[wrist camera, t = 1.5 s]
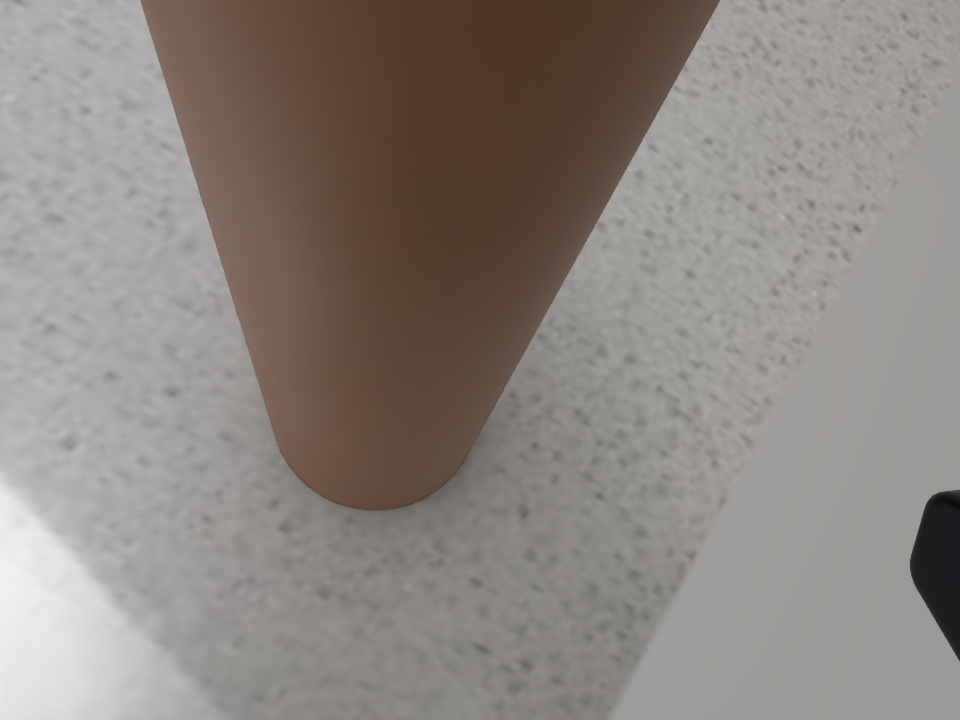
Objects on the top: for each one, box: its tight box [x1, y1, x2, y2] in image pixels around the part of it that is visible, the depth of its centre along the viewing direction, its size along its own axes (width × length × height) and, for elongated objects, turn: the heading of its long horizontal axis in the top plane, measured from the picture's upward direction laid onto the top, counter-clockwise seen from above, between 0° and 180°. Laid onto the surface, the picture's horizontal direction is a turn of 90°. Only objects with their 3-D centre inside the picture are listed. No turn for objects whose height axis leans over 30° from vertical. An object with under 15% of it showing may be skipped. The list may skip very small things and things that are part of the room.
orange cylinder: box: [140, 0, 720, 510], centre depth 12 cm, size 5×5×20 cm
